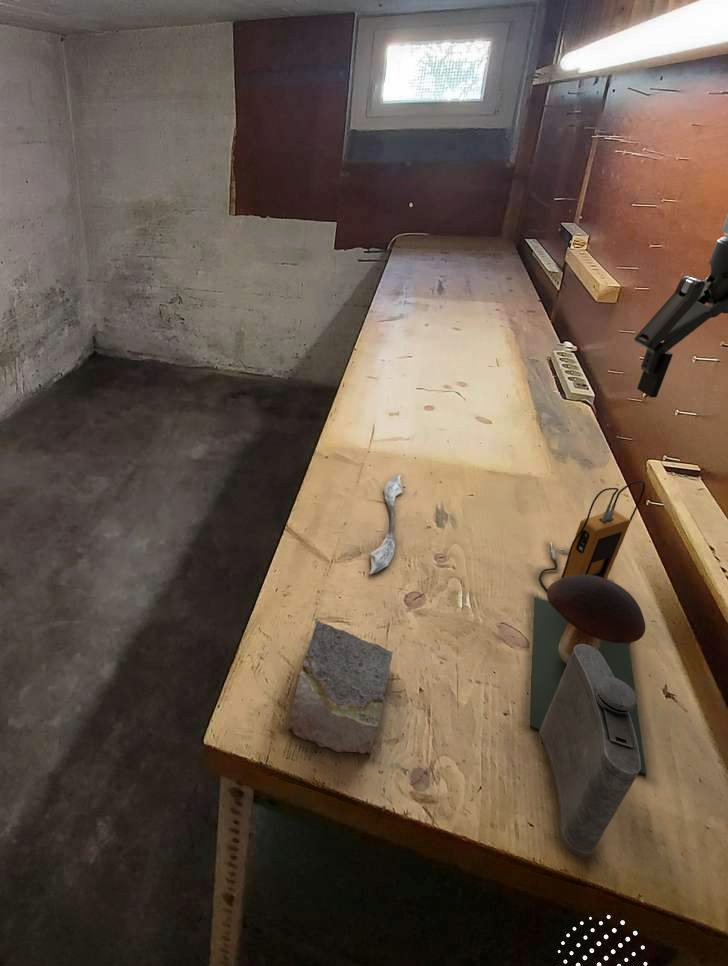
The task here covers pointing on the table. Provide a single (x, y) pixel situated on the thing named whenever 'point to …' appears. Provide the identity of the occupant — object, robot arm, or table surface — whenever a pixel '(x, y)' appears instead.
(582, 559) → the multimeter
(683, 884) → the table surface
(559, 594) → the decorative mushroom
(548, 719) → the flask
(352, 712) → the geological specimen
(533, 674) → the mat
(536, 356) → the table surface
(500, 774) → the table surface
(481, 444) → the table surface
